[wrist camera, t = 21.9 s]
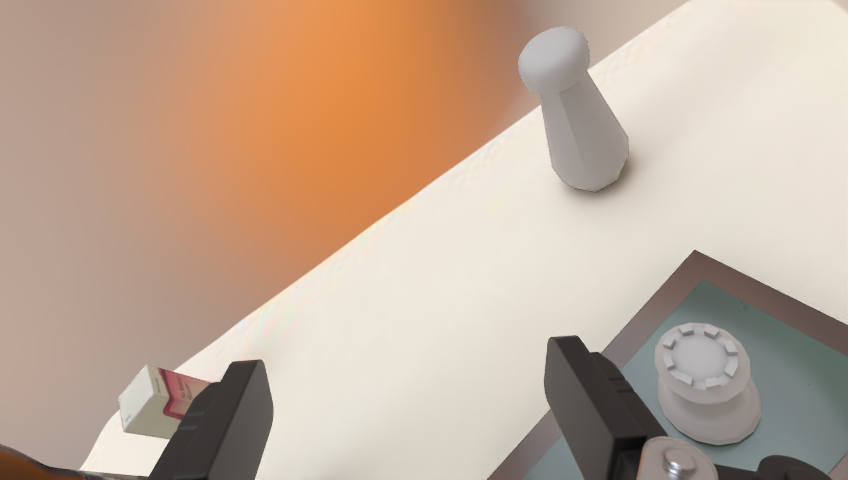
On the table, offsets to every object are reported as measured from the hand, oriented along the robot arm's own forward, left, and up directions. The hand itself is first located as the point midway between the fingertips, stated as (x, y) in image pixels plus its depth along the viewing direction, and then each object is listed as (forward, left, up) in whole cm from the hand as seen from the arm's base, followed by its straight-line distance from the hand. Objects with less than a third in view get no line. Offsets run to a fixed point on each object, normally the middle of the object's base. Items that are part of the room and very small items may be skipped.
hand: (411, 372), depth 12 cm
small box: (-26, +29, -19) cm, 43 cm away
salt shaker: (+17, +13, -19) cm, 29 cm away
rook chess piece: (+7, -3, -17) cm, 19 cm away
